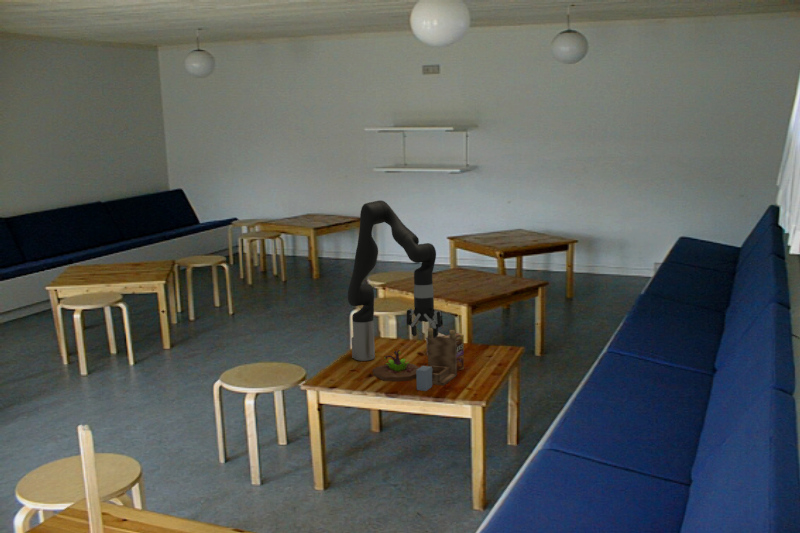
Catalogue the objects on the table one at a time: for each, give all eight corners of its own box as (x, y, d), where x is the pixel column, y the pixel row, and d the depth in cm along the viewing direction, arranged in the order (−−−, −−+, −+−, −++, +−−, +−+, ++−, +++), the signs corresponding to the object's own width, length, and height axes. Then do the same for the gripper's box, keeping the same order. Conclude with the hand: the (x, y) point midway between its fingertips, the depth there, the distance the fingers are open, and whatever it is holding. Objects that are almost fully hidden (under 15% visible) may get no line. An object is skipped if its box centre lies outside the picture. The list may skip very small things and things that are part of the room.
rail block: (416, 389, 291) (416, 370, 290) (423, 384, 297) (423, 365, 296) (426, 391, 290) (425, 371, 288) (433, 385, 296) (432, 366, 294)
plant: (383, 385, 299) (382, 358, 297) (367, 372, 317) (366, 346, 315) (429, 378, 306) (428, 351, 305) (411, 366, 324) (410, 341, 323)
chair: (416, 382, 300) (414, 336, 298) (430, 372, 313) (429, 327, 310) (444, 385, 295) (443, 338, 292) (457, 375, 308) (456, 330, 305)
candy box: (447, 373, 311) (446, 337, 308) (441, 371, 314) (440, 335, 312) (464, 369, 316) (463, 334, 313) (458, 367, 319) (457, 332, 317)
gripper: (402, 296, 287) (404, 337, 290) (437, 298, 282) (438, 340, 284) (410, 292, 294) (412, 333, 297) (444, 294, 288) (445, 335, 291)
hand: (424, 336), depth 290 cm, fingers open, 8 cm apart
